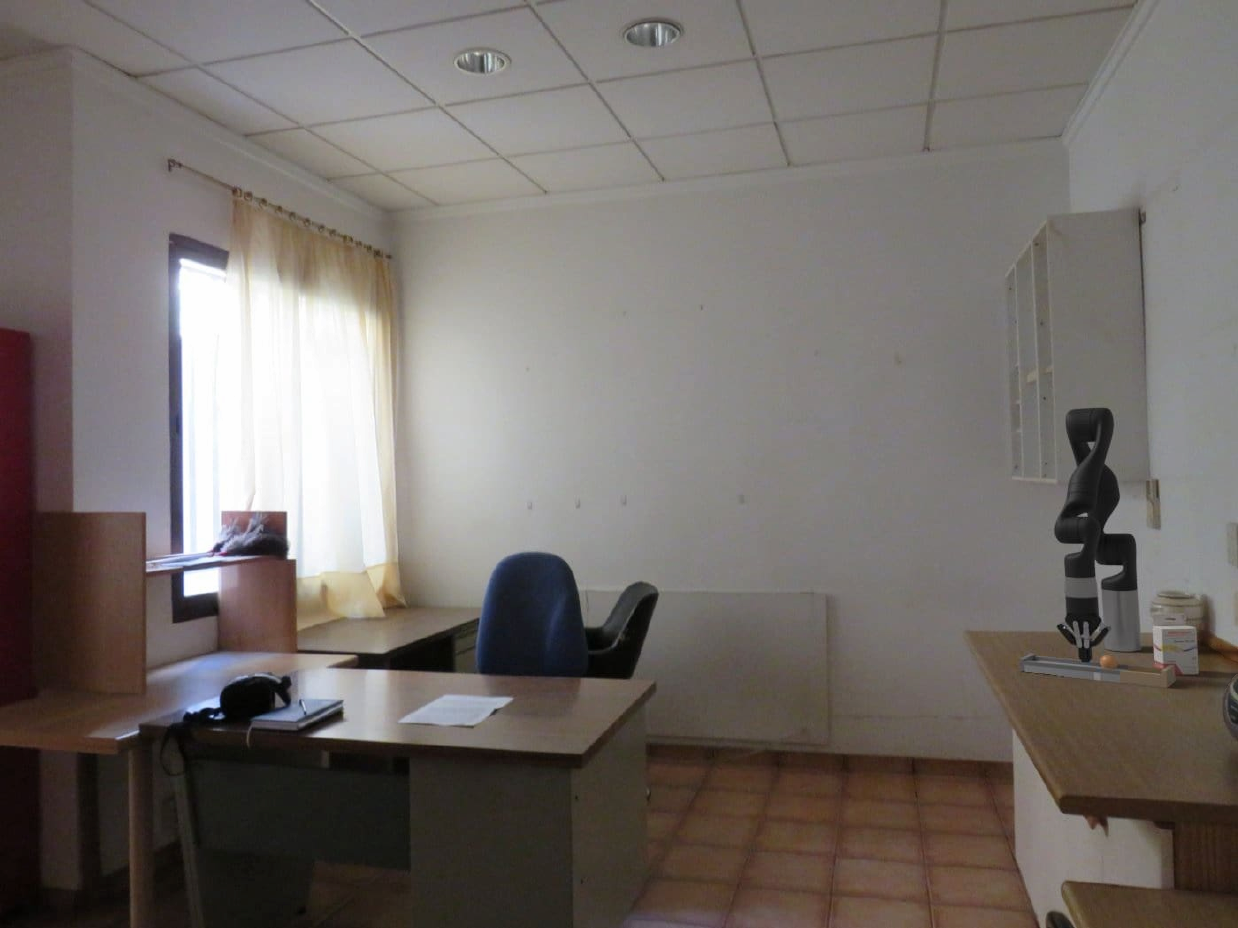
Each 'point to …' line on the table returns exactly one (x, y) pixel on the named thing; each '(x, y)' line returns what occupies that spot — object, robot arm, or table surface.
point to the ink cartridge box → (1175, 643)
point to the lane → (1100, 671)
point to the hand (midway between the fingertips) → (1085, 661)
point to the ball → (1108, 662)
